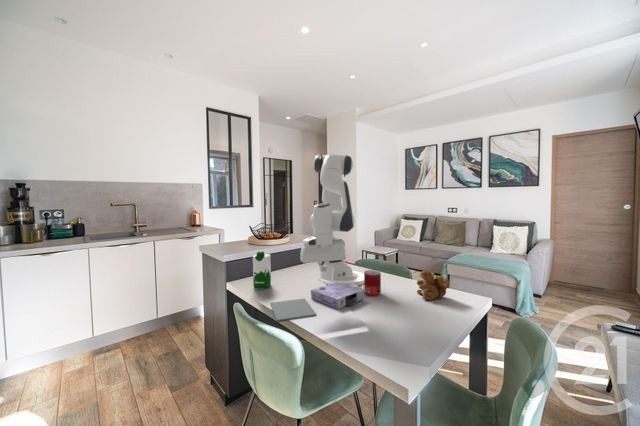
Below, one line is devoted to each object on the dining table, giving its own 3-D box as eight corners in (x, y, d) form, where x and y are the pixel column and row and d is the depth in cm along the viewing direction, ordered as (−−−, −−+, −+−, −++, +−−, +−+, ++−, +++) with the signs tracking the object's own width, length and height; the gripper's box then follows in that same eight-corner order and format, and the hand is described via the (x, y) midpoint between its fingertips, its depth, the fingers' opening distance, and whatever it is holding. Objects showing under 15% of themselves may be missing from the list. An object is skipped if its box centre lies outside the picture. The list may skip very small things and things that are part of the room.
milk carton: (251, 291, 140) (250, 253, 139) (257, 285, 149) (256, 250, 148) (268, 291, 139) (267, 253, 138) (272, 286, 148) (272, 250, 147)
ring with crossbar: (331, 275, 176) (331, 268, 176) (372, 280, 163) (372, 273, 163) (310, 287, 151) (310, 279, 151) (357, 294, 138) (356, 285, 138)
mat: (304, 299, 126) (304, 298, 126) (316, 315, 108) (316, 314, 108) (270, 304, 121) (270, 302, 121) (276, 321, 103) (276, 319, 103)
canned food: (380, 296, 128) (380, 274, 128) (364, 295, 130) (363, 273, 129) (380, 291, 136) (380, 270, 135) (364, 290, 137) (364, 269, 137)
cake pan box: (339, 311, 113) (365, 299, 124) (339, 299, 112) (365, 288, 124) (310, 300, 127) (336, 290, 139) (309, 289, 126) (335, 280, 138)
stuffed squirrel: (415, 292, 134) (415, 266, 133) (445, 293, 131) (445, 267, 131) (419, 299, 124) (419, 271, 123) (451, 301, 121) (451, 272, 121)
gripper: (341, 237, 124) (342, 267, 124) (299, 240, 117) (299, 271, 118) (347, 239, 118) (347, 270, 118) (302, 242, 111) (303, 275, 112)
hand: (323, 271), depth 118 cm, fingers closed
